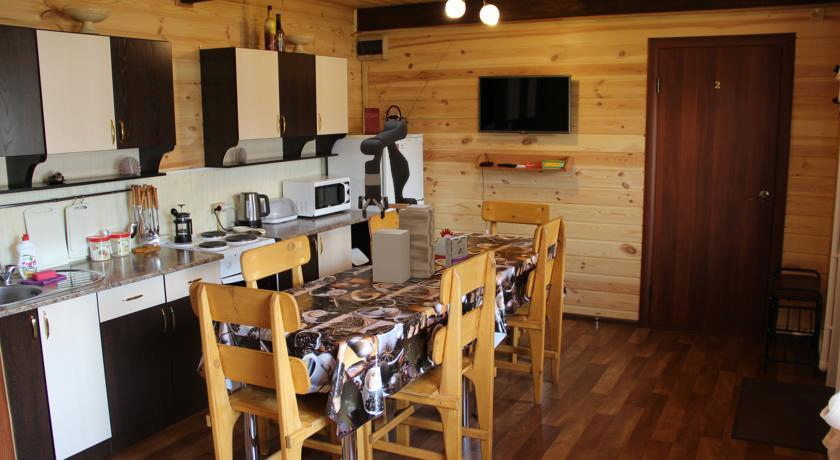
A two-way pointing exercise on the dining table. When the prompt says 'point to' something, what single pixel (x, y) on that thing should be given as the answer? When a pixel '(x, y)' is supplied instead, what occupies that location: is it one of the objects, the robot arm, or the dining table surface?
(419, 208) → the turner
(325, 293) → the dining table surface
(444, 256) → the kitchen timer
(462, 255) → the candy bar box
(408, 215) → the tall stand
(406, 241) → the grey upright block
